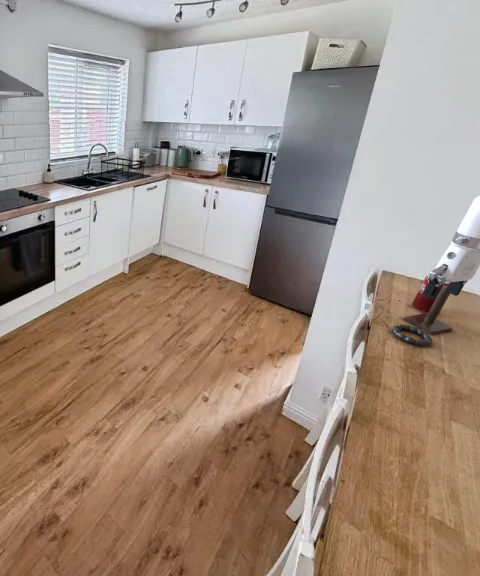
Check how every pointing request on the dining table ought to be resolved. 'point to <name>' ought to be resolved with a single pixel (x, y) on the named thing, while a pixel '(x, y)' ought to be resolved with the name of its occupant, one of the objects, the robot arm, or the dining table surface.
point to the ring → (410, 340)
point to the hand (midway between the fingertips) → (439, 295)
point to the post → (432, 316)
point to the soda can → (422, 301)
